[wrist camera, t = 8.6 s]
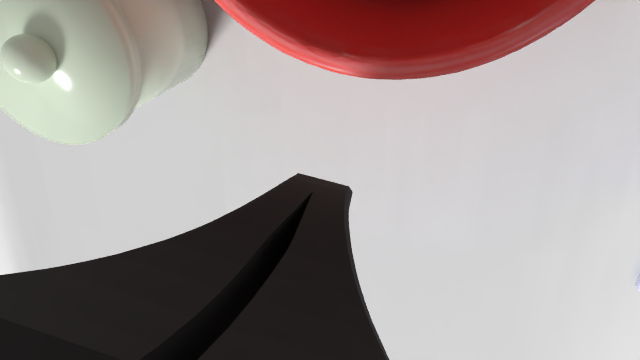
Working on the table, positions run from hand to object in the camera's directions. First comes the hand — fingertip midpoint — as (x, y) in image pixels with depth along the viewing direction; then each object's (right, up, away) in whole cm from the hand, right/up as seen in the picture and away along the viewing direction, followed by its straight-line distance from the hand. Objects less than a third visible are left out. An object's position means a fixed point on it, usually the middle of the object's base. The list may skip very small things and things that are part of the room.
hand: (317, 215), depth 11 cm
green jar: (-8, +8, +10) cm, 15 cm away
